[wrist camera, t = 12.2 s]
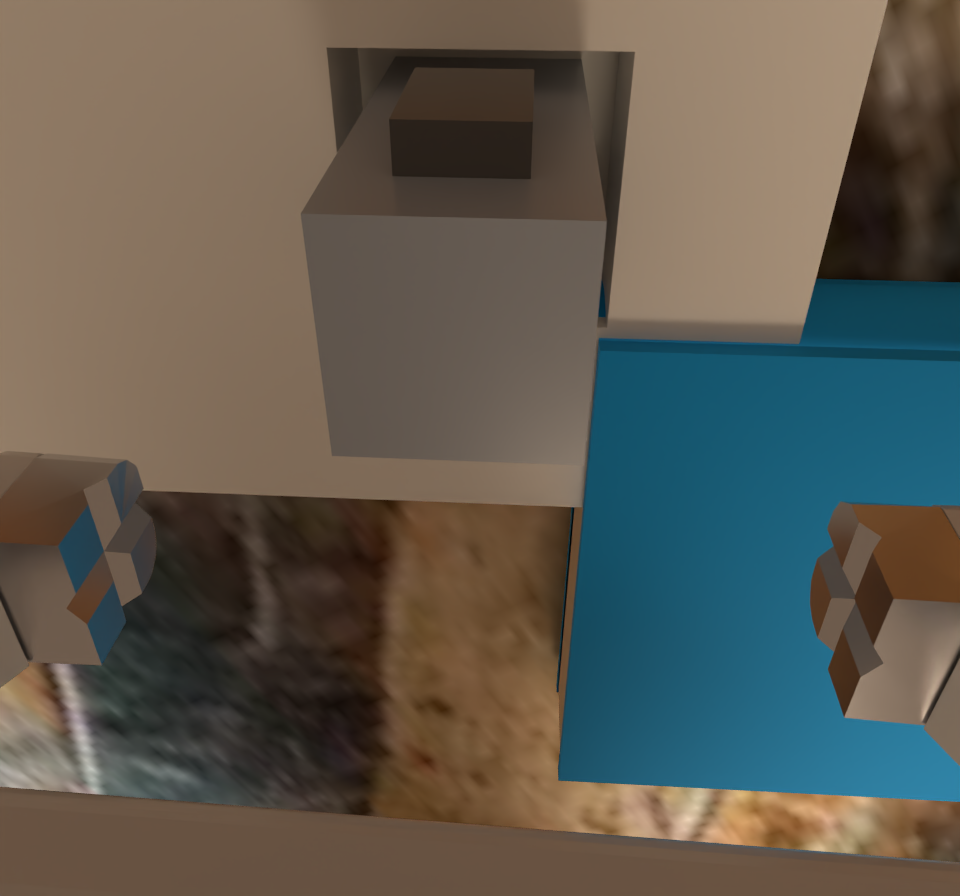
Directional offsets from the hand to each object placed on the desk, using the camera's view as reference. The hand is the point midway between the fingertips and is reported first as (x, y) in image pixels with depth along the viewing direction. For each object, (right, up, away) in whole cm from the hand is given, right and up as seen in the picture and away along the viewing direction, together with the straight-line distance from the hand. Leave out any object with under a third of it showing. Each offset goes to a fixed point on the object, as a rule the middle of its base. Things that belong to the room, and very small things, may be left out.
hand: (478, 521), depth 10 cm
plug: (0, +8, +9) cm, 12 cm away
